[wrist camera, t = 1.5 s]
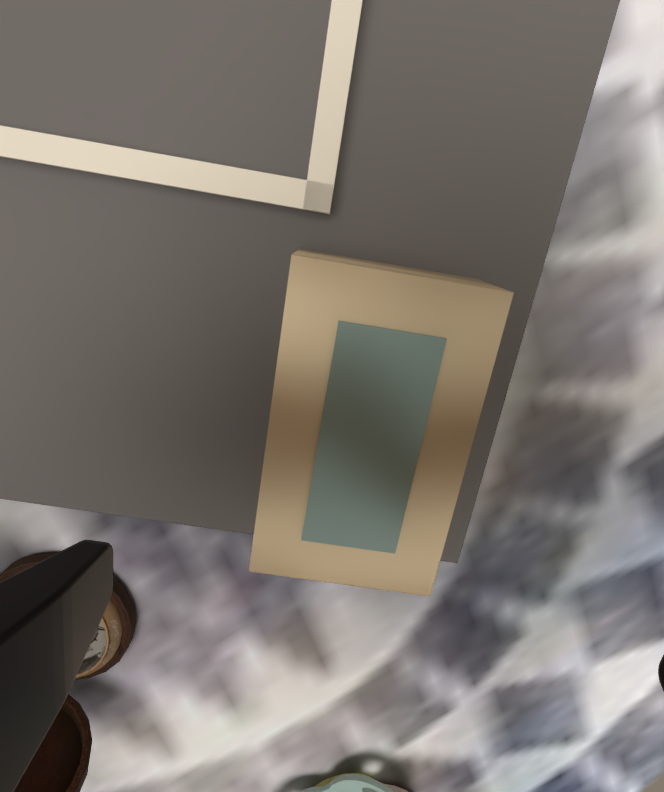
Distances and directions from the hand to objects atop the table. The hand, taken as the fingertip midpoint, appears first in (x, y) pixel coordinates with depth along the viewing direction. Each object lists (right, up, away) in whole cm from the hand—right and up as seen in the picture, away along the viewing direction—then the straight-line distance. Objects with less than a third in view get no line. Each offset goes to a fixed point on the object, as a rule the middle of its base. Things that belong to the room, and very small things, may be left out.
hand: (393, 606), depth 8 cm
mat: (-5, +10, +9) cm, 14 cm away
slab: (0, +3, +10) cm, 11 cm away
